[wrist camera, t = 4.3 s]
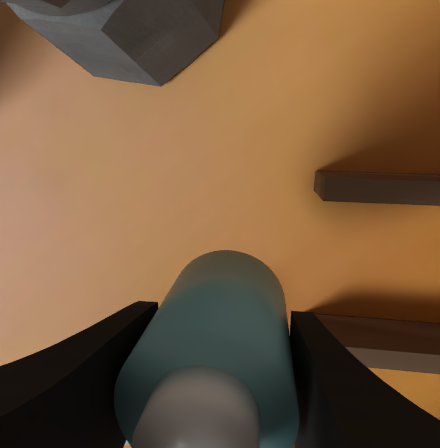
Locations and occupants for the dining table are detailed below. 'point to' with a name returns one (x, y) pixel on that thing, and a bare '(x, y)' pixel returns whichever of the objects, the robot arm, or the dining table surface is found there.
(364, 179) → the brown divided sorting rack
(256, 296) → the teal rounded piece
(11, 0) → the coffeepot
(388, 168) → the dining table surface
